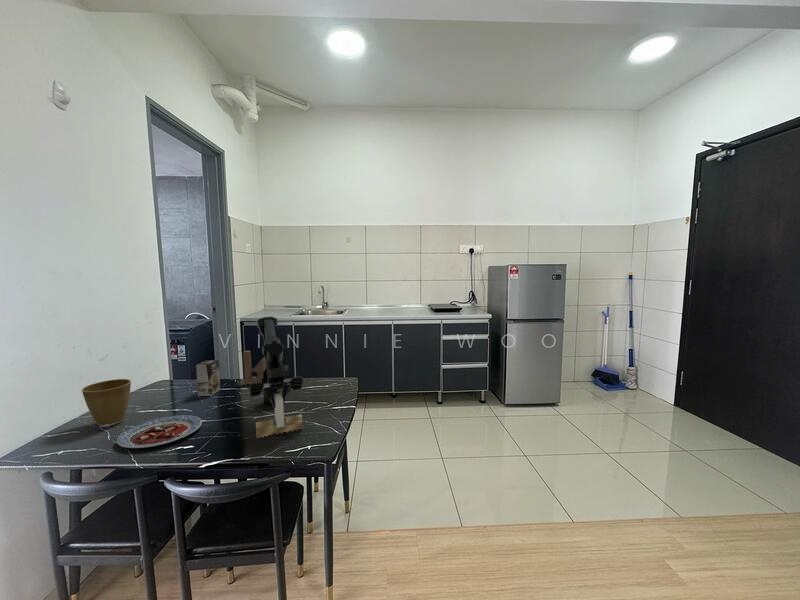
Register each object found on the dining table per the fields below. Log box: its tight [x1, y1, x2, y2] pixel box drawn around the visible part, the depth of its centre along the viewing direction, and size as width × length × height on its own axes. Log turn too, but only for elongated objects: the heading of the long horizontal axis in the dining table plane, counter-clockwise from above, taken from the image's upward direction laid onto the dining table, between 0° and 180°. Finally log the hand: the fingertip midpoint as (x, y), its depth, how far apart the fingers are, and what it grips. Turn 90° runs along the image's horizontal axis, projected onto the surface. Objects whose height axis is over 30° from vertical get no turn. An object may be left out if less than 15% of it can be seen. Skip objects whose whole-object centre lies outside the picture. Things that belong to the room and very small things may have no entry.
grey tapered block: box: [274, 393, 285, 428], centre depth 128 cm, size 8×2×10 cm, turn 25°
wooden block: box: [242, 350, 266, 385], centre depth 185 cm, size 4×11×18 cm, turn 95°
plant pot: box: [81, 378, 132, 425], centre depth 138 cm, size 15×15×16 cm
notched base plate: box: [255, 414, 304, 439], centre depth 128 cm, size 16×2×5 cm, turn 115°
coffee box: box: [195, 359, 221, 397], centre depth 171 cm, size 9×6×16 cm
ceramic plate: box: [116, 414, 203, 449], centre depth 128 cm, size 26×26×3 cm
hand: (279, 407), depth 126 cm, fingers closed on grey tapered block, 2 cm apart
